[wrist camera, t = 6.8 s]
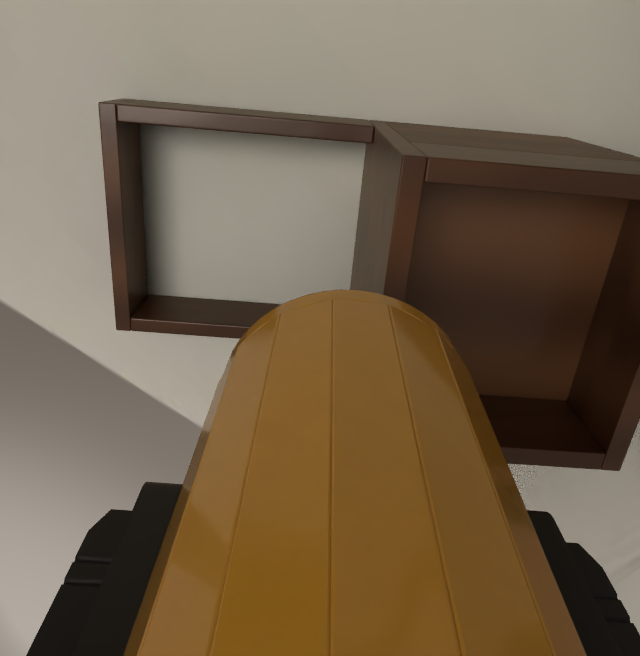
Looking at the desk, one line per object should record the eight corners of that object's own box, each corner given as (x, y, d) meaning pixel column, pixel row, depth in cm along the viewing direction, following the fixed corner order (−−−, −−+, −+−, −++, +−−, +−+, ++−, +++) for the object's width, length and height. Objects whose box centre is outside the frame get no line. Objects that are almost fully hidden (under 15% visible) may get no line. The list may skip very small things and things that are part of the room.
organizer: (122, 98, 29) (-14, 119, 17) (567, 137, 30) (731, 182, 18) (135, 305, 34) (36, 433, 22) (516, 333, 35) (619, 471, 23)
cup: (224, 276, 12) (-6, 750, 4) (493, 302, 12) (812, 813, 4) (220, 483, 14) (77, 1026, 6) (441, 503, 15) (571, 1060, 7)
